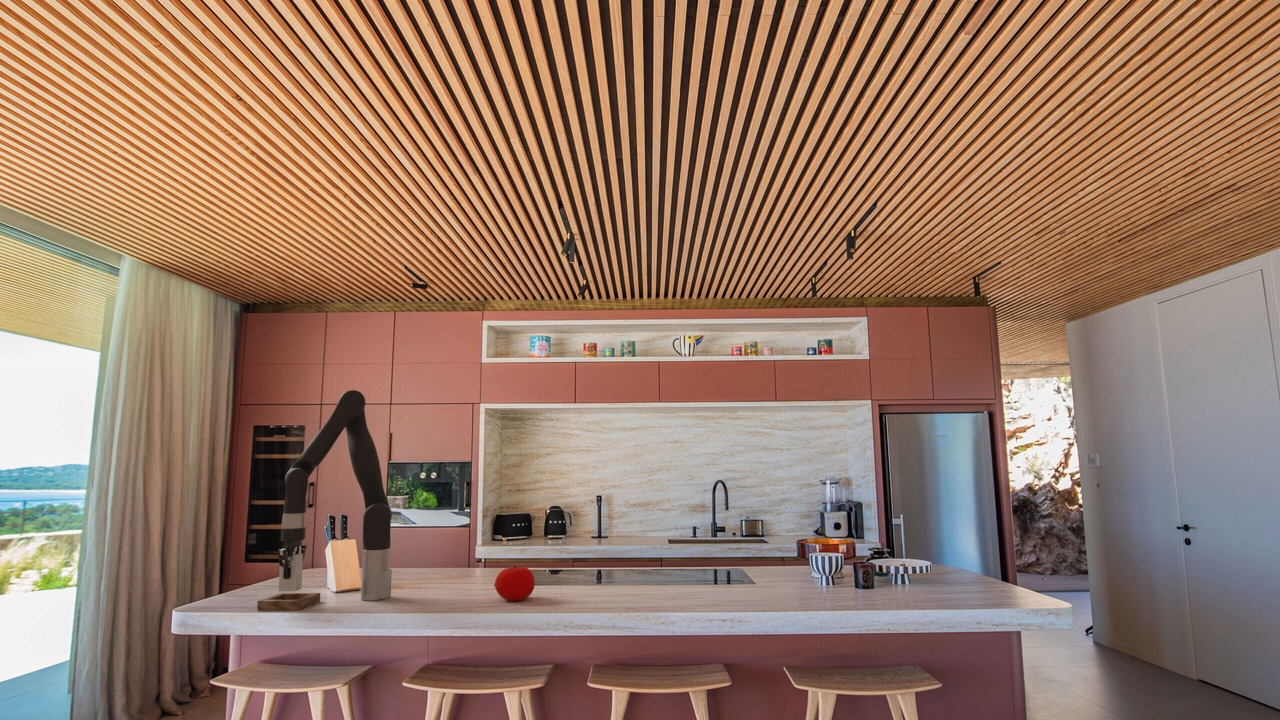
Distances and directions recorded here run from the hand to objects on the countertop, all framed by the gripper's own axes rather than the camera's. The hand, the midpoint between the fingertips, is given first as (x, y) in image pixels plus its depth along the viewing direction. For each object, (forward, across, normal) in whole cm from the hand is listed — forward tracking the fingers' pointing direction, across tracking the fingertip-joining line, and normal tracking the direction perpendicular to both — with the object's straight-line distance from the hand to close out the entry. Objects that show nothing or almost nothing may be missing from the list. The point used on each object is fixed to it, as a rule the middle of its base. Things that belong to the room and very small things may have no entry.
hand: (290, 577), depth 240 cm
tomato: (+9, +12, -75) cm, 77 cm away
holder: (+9, 0, 0) cm, 9 cm away
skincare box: (+5, 0, 0) cm, 5 cm away
